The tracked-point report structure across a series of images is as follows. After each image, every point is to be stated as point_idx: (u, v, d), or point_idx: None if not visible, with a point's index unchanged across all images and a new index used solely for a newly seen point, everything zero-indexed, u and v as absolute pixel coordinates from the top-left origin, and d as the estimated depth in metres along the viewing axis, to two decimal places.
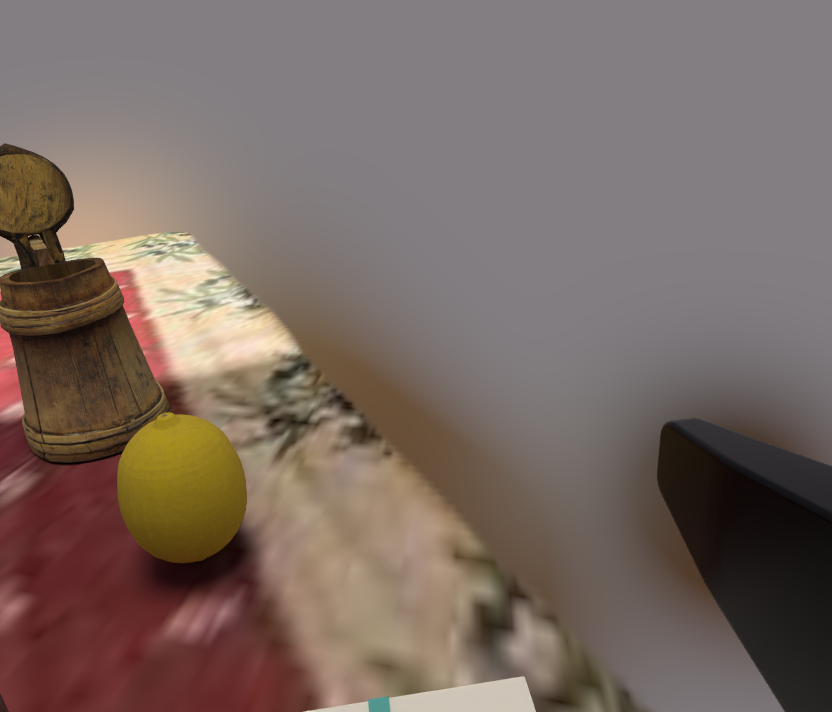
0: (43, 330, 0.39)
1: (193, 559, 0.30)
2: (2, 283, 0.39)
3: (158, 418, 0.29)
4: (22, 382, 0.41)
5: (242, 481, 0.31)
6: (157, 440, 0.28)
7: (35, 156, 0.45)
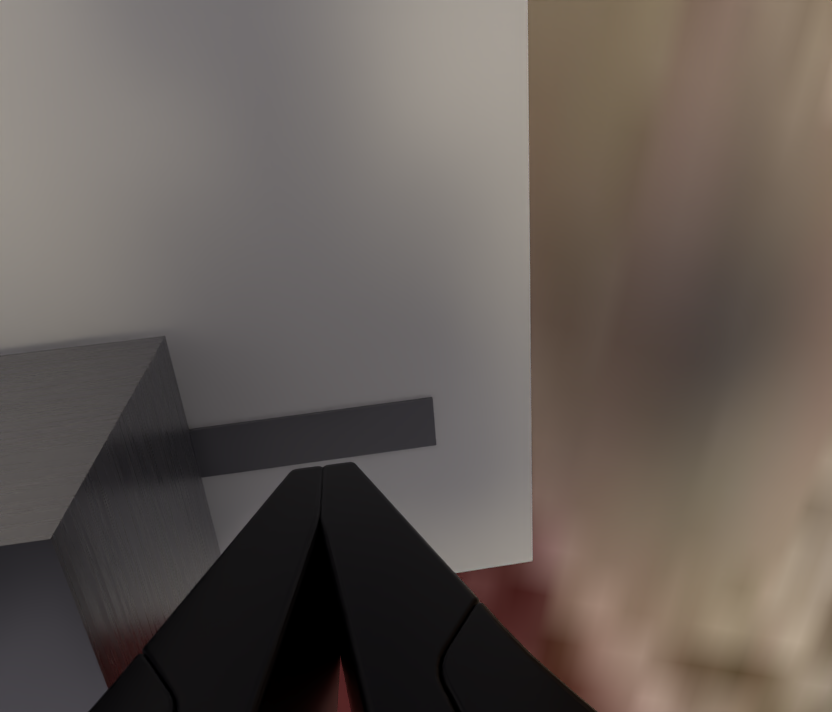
0: None
1: None
2: None
3: None
4: None
5: None
6: None
7: None
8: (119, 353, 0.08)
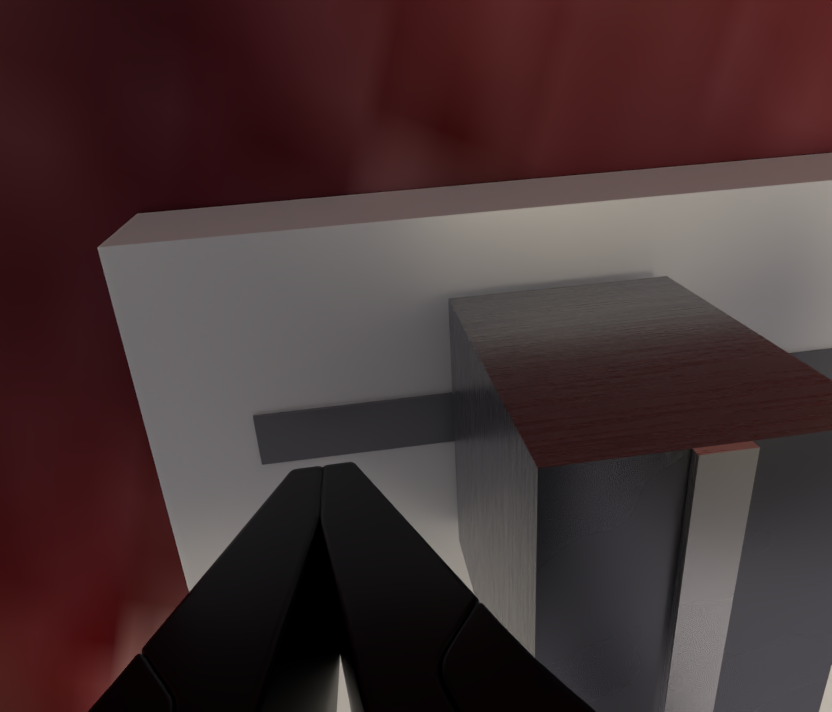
0: None
1: None
2: None
3: None
4: None
5: None
6: None
7: None
8: None
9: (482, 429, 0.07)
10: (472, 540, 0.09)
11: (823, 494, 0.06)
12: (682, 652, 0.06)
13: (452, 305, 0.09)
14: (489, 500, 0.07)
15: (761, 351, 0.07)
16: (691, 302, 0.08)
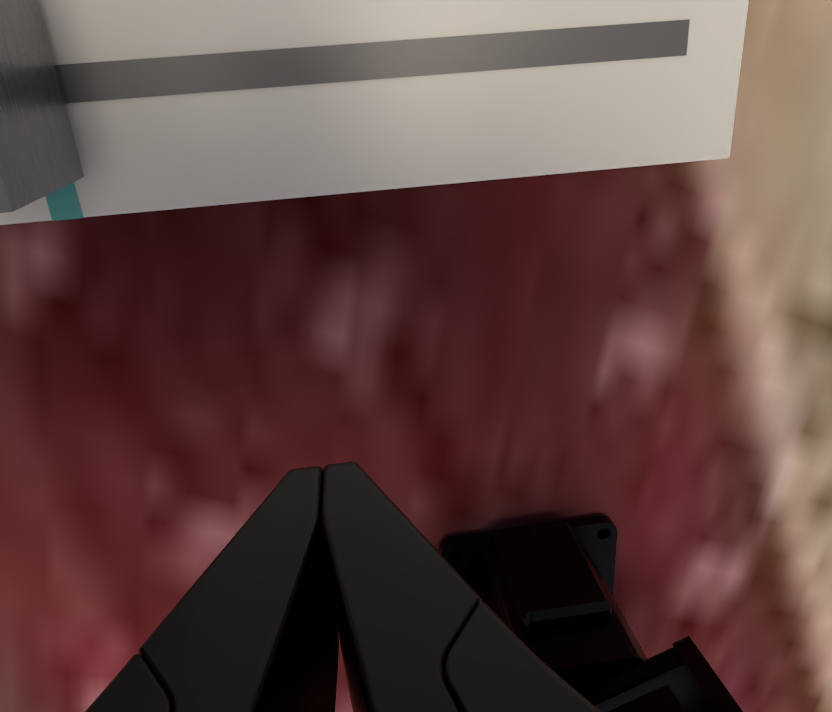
0: None
1: None
2: None
3: None
4: None
5: None
6: None
7: None
8: None
9: None
10: None
11: None
12: None
13: None
14: None
15: None
16: None
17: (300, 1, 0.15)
